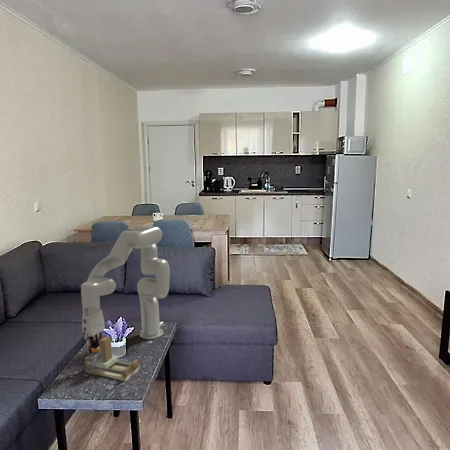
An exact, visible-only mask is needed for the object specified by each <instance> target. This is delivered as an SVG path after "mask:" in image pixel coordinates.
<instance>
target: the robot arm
mask: <svg viewBox="0 0 450 450" xmlns="http://www.w3.org/2000/svg"><path fill="white" fill-rule="evenodd" d="M162 238H163V231H162V229H161V228H160V227H158V226H150V225H135V226H134V227H132V229H131V230H124V231H122V232H121V233H120V234H119V236H118V238H117V240H116V242H115V244H114V245H113V247H112V249H111V251H110V253H109V254H108V255H107V256H106V257H105V258H103V259H101V260H100V261H99V262H98V263H97V264H95V266H94V267H93V268H92V270H91V272H90V273H89V276H88V277H87V280H86V281H85V282H82V283H81V285H80V290H81V291H80V296H81V303H82V312H81V313H82V316H81V317H82V318H81V324H82V325H81V330H82V336H84V340H86V341H87V340H88V339H89V340H90V343H91V348H98V347H99V343H98V338H99V334H100V332H101V331H102V332H103V330H105V328H106V324H105V317H104V312H103V309H101V299H100V297H103V296H106V295H110V294H112V293H114V291H115V290H116V287H117V284H116V281H115V280H114V279H112V278H109V277H104V276H105V275H106V274H107V273H108V272H109V271H110V270H113V269H115V268H118V267H121V266H122V265H123V266H124V264H126V262H127V261H128V258H129V256H130V254H131V252H132V251H133V249H139V250H140V251H141V252H140V272H141V273H142V274H143V275H145V276H149V277H143V278H142V277H141V278H140V280H138V282H137V285H136V288H137V289H136V290H137V293H138V297H139V302H140V303H139V305H140V316H141V318H140V321H141V331H140V332H139V337H140V338H142V339H144V340H153V339H158V338H160V337H161V336H163V334H164V330H163V329H162V326H164V321H160V309H159V307H160V304H159V301H158V299H165V298H166V297H167V296H168V294H169V290H170V281H171V280H170V277H171V276H170V275H171V267H170V265H169V262H168V261H167V260H166V259H162V258H158V246H157V244H158V243H159V242H160V241H161V240H162ZM153 277H155V278H153Z"/></svg>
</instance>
